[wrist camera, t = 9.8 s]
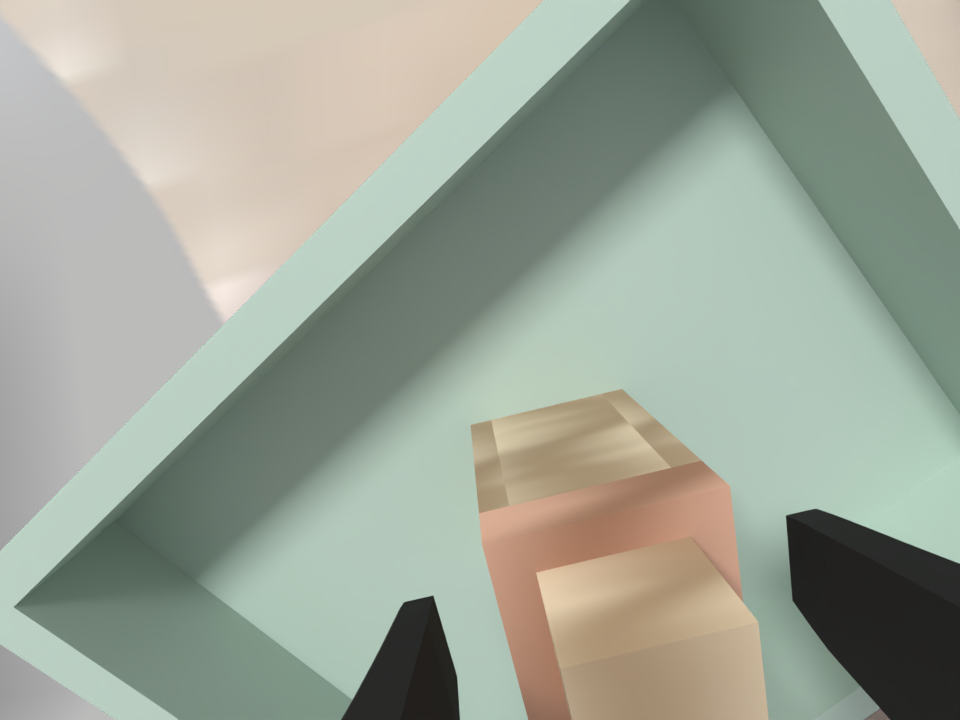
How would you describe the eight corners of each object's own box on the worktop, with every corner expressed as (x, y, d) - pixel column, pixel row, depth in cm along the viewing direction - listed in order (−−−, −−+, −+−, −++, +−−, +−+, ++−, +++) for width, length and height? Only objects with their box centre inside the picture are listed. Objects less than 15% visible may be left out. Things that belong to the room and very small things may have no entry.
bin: (1000, 435, 16) (1181, 500, 12) (489, 817, 18) (500, 972, 15) (660, -71, 12) (762, -222, 8) (79, 508, 15) (-56, 607, 11)
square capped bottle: (621, 389, 14) (811, 559, 7) (644, 522, 15) (827, 797, 8) (470, 425, 14) (490, 635, 7) (503, 556, 15) (553, 861, 8)
